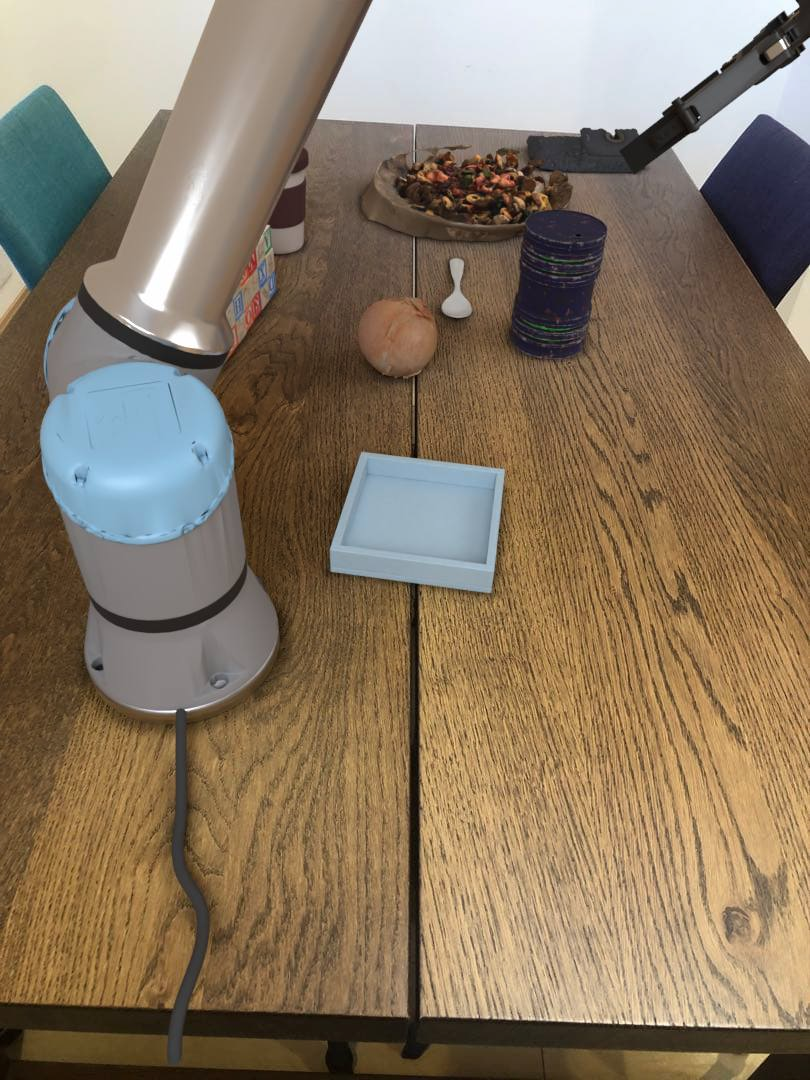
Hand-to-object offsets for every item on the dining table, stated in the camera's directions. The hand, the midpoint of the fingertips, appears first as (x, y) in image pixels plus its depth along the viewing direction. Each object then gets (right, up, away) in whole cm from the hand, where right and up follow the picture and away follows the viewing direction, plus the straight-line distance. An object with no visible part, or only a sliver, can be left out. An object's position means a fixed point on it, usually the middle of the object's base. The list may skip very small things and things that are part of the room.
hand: (649, 141), depth 85 cm
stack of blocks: (-48, -14, +21) cm, 55 cm away
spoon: (-18, -7, +30) cm, 36 cm away
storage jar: (-7, -16, +21) cm, 27 cm away
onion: (-26, -21, +15) cm, 37 cm away
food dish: (-15, +15, +53) cm, 58 cm away
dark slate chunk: (+9, +32, +72) cm, 79 cm away
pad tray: (-24, -40, -6) cm, 47 cm away
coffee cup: (-44, +3, +39) cm, 59 cm away
